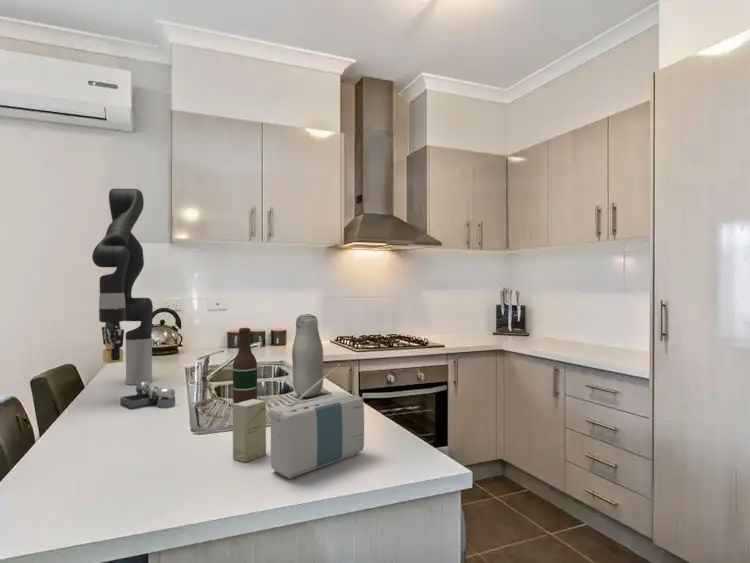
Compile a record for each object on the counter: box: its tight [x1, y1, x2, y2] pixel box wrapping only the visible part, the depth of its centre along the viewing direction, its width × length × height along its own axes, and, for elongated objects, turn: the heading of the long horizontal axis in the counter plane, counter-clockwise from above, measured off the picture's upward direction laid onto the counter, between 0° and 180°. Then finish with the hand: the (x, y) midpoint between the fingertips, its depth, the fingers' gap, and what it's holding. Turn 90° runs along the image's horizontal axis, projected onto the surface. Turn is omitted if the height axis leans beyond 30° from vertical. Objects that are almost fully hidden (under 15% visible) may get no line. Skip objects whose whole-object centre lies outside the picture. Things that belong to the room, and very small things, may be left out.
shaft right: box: [149, 385, 176, 409], centre depth 152 cm, size 7×4×6 cm, turn 76°
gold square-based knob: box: [102, 343, 124, 365], centre depth 157 cm, size 4×4×6 cm
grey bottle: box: [291, 313, 324, 398], centre depth 163 cm, size 10×10×28 cm
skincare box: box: [232, 399, 267, 463], centre depth 107 cm, size 6×4×12 cm
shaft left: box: [135, 380, 152, 395], centre depth 163 cm, size 7×4×6 cm, turn 16°
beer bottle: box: [232, 327, 258, 404], centre depth 157 cm, size 8×8×24 cm
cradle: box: [119, 393, 160, 411], centre depth 154 cm, size 9×9×2 cm
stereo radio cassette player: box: [268, 363, 365, 480], centre depth 103 cm, size 21×8×20 cm, turn 136°
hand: (113, 358), depth 157 cm, fingers closed on gold square-based knob, 4 cm apart
